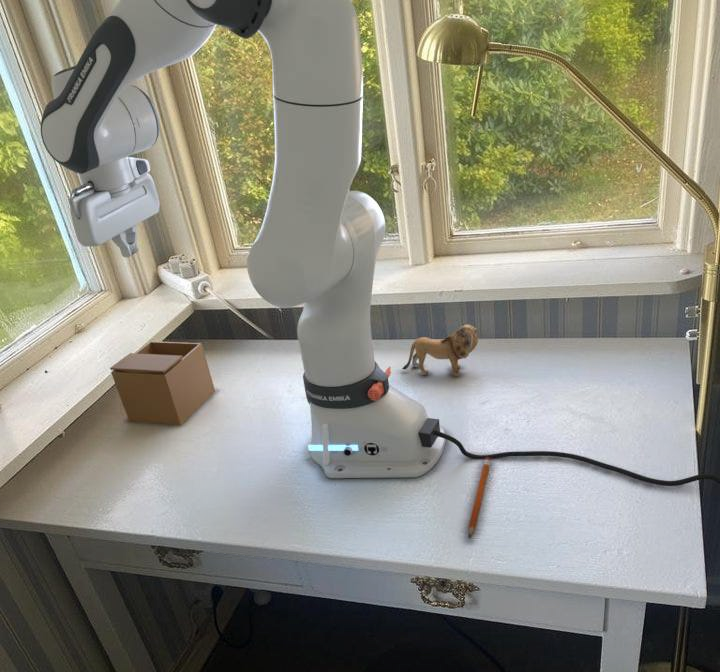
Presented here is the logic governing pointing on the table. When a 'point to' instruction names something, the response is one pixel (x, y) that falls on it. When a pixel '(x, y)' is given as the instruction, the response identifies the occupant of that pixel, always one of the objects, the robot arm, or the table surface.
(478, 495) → the pencil
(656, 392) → the table surface
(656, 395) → the table surface
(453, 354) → the lion figurine
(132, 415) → the carton
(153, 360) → the flap
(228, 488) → the table surface
